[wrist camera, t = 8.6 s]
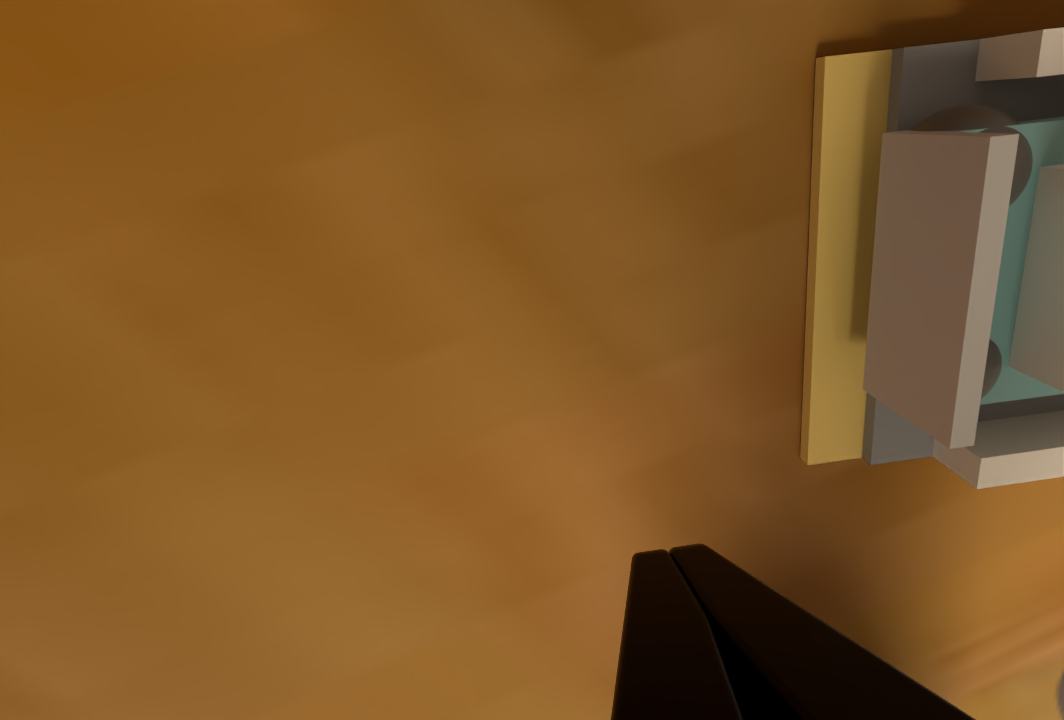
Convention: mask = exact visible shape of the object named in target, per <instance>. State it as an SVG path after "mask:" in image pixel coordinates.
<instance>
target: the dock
mask: <svg viewBox="0 0 1064 720" xmlns="http://www.w3.org/2000/svg"><path fill="white" fill-rule="evenodd" d="M967 104H976V105H986V106H990V107H993V108H997V109H1000V110H1002V111H1004V112H1006V113H1008V114H1009V115H1011V116H1012V117H1014V118H1015V119H1016V120H1017V121H1018V122H1019V121H1028V120H1037V119H1046V118H1055V117H1064V27H1062V28H1053V29H1044V30H1037V31H1030V32H1024V33H1017V34H1010V35H1004V36H997V37H991V38H984V39H976V40H967V41H958V42H949V43H940V44H931V45H922V46H913V47H904V48H897V49H890V50H881V51H872V52H863V53H854V54H845V55H836V56H826V57H820V58H816V67H815V93H814V118H813V144H812V170H811V196H810V221H809V247H808V273H807V298H806V324H805V350H804V376H803V401H802V427H801V453H800V458H801V459H802V460H803V461H804V462H805V463H806V464H807V465H813V464H820V463H827V462H834V461H841V460H848V459H855V458H863V459H864V460H865V461H867V462H868V463H869V464H870V465H875V464H882V463H889V462H896V461H903V460H910V459H917V458H924V457H931V456H932V457H933V458H935V459H936V460H937V461H939V462H940V463H942V464H943V465H944V466H946V467H947V468H948V469H950V470H951V471H953V472H954V473H955V474H957V475H958V476H959V477H961V478H962V479H964V480H965V481H966V482H968V483H969V484H970V485H972V486H973V487H975V488H976V489H982V488H989V487H995V486H1002V485H1009V484H1016V483H1023V482H1030V481H1037V480H1044V479H1050V478H1057V477H1064V394H1058V395H1050V396H1043V397H1035V398H1028V399H1020V400H1013V401H1005V402H998V403H990V404H983V405H980V408H979V415H978V422H977V429H976V436H975V442H974V446H968V447H960V448H953V449H949V448H948V447H946V446H945V445H943V444H942V443H940V442H939V441H937V440H936V439H934V438H933V437H931V436H930V435H929V434H927V433H926V432H924V431H923V430H921V429H920V428H918V427H917V426H915V425H914V424H912V423H911V422H910V421H908V420H907V419H905V418H904V417H902V416H901V415H899V414H898V413H896V412H895V411H894V410H892V409H891V408H889V407H888V406H886V405H885V404H883V403H882V402H880V401H879V400H877V399H876V398H875V397H873V396H872V395H870V394H869V393H867V392H866V391H864V390H863V379H864V366H865V354H866V341H867V328H868V315H869V302H870V290H871V277H872V264H873V251H874V238H875V226H876V213H877V200H878V187H879V174H880V162H881V149H882V136H883V133H886V132H895V131H905V130H911V129H912V128H913V127H914V126H915V125H917V124H918V123H919V122H920V121H922V120H923V119H925V118H927V117H928V116H930V115H932V114H934V113H936V112H938V111H940V110H943V109H947V108H950V107H953V106H959V105H967Z"/></svg>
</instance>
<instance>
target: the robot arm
mask: <svg viewBox="0 0 1064 720" xmlns="http://www.w3.org/2000/svg"><path fill="white" fill-rule="evenodd" d="M611 720H975V719H974V718H972V717H971V716H969V715H968V714H966V713H965V712H963V711H962V710H960V709H958V708H957V707H955V706H954V705H952V704H951V703H949V702H948V701H946V700H945V699H943V698H941V697H940V696H938V695H937V694H935V693H934V692H932V691H931V690H929V689H927V688H926V687H924V686H923V685H921V684H920V683H918V682H917V681H915V680H914V679H912V678H910V677H909V676H907V675H906V674H904V673H903V672H901V671H900V670H898V669H896V668H895V667H893V666H892V665H890V664H889V663H887V662H886V661H884V660H883V659H881V658H879V657H878V656H876V655H875V654H873V653H872V652H870V651H869V650H867V649H866V648H864V647H862V646H861V645H859V644H858V643H856V642H855V641H853V640H852V639H850V638H848V637H847V636H845V635H844V634H842V633H841V632H839V631H838V630H836V629H835V628H833V627H831V626H830V625H828V624H827V623H825V622H824V621H822V620H821V619H819V618H817V617H816V616H814V615H813V614H811V613H810V612H808V611H807V610H805V609H804V608H802V607H800V606H799V605H797V604H796V603H794V602H793V601H791V600H790V599H788V598H787V597H785V596H783V595H782V594H780V593H779V592H777V591H776V590H774V589H773V588H771V587H769V586H768V585H766V584H765V583H763V582H762V581H760V580H759V579H757V578H756V577H754V576H752V575H751V574H749V573H748V572H746V571H745V570H743V569H742V568H740V567H738V566H737V565H735V564H734V563H732V562H731V561H729V560H728V559H726V558H725V557H723V556H721V555H720V554H718V553H717V552H715V551H714V550H712V549H711V548H709V547H708V546H706V545H703V544H693V545H686V546H680V547H673V548H671V549H670V550H669V552H668V551H666V550H663V549H659V550H653V551H646V552H639V553H636V554H634V555H633V557H632V563H631V570H630V578H629V586H628V593H627V601H626V608H625V616H624V624H623V631H622V639H621V646H620V654H619V662H618V669H617V677H616V684H615V692H614V700H613V707H612V715H611Z"/></svg>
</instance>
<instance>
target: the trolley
mask: <svg viewBox="0 0 1064 720" xmlns="http://www.w3.org/2000/svg"><path fill="white" fill-rule="evenodd" d="M863 390H864V391H866V392H867V393H869V394H870V395H872V396H873V397H875V398H876V399H877V400H879V401H880V402H882V403H883V404H885V405H886V406H888V407H889V408H891V409H892V410H894V411H895V412H896V413H898V414H899V415H901V416H902V417H904V418H905V419H907V420H908V421H910V422H911V423H912V424H914V425H915V426H917V427H918V428H920V429H921V430H923V431H924V432H926V433H927V434H929V435H930V436H931V437H933V438H934V439H936V440H937V441H939V442H940V443H942V444H943V445H945V446H946V447H948V448H949V449H953V448H960V447H968V446H974V442H975V436H976V429H977V422H978V415H979V408H980V405H983V404H990V403H998V402H1005V401H1013V400H1020V399H1028V398H1035V397H1043V396H1050V395H1058V394H1064V117H1055V118H1046V119H1037V120H1028V121H1019V122H1018V121H1017V120H1016V119H1015V118H1014V117H1012V116H1011V115H1009V114H1008V113H1006V112H1004V111H1002V110H1000V109H997V108H993V107H990V106H986V105H976V104H967V105H959V106H953V107H950V108H947V109H943V110H940V111H938V112H936V113H934V114H932V115H930V116H928V117H927V118H925V119H923V120H922V121H920V122H919V123H918V124H917V125H915V126H914V127H913V128H912V129H911V130H905V131H895V132H886V133H883V136H882V149H881V162H880V174H879V187H878V200H877V213H876V226H875V238H874V251H873V264H872V277H871V290H870V302H869V315H868V328H867V341H866V354H865V366H864V379H863Z"/></svg>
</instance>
